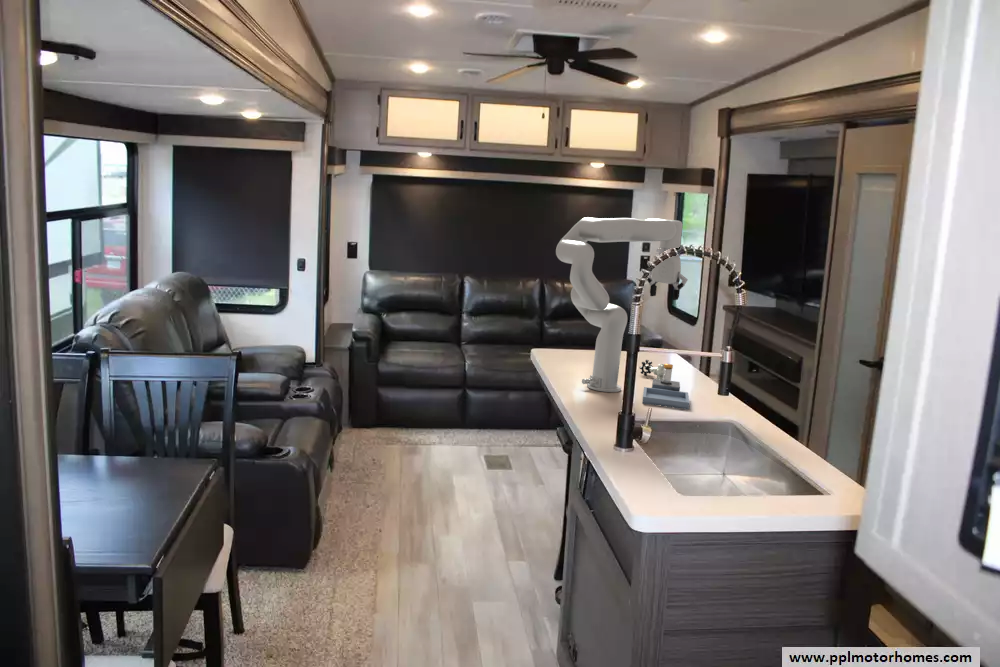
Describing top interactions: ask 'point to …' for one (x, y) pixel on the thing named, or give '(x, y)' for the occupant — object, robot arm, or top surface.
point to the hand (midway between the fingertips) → (663, 297)
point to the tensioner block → (666, 385)
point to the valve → (652, 369)
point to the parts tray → (665, 398)
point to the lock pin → (667, 373)
